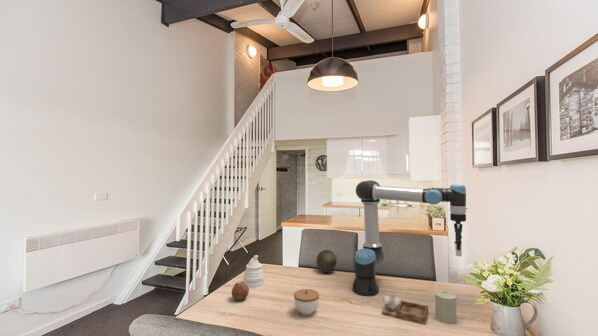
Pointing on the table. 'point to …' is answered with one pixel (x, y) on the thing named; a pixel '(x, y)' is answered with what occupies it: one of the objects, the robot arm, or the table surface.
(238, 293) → the onion
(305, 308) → the lidded bowl
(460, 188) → the robot arm
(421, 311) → the caddy
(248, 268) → the honey pot
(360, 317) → the table surface
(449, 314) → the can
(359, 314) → the table surface
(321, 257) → the cantaloupe
